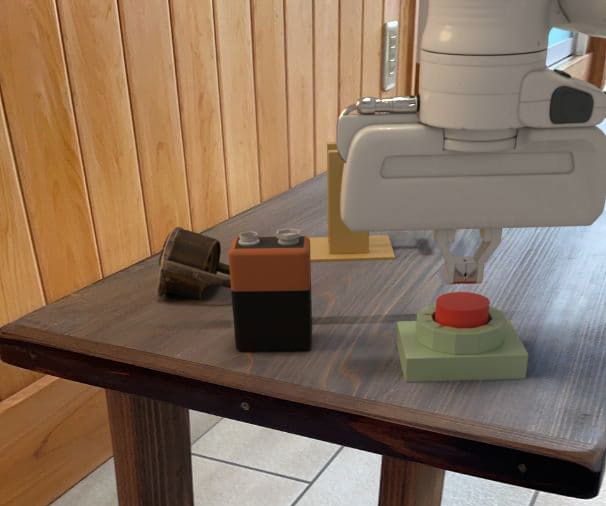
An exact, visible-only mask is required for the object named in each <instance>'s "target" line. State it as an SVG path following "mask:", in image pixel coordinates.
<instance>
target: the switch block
mask: <svg viewBox="0 0 606 506" xmlns="http://www.w3.org/2000/svg"><path fill="white" fill-rule="evenodd" d="M435 311H436V303H434V304H430V305H427V306H426V305H425V307H424V308H422V309H421V310H420V311H419V312H417V314H416V320H398V321H396V329H395V346H396V351H397V354H398V358H399V361H400V367H401V370H402V374H403V378H404V382H405V383H420V382H421V383H423V382H457V381H459V382H460V381H487V380H489V381H491V380H520V379H521V380H523V379H524V380H525V379H526V377H527V369H528V361H529V356H530V355H529V353H528V351H527V349H526V347H525V346H524V344H523V342H522V340H521V338H520V337H519V335H518V332H517V331H516V329H515V327H514V325H513V324H512V322H511V320H510V318H509V317H506V316H505V314H504V312H503V311H502V310H501V309H498V308H496V307H494V306H491V305H489V314H488V323H487V325H483V326H480V327H476V328H460V329H459V328H453V327H447V326H442V325H440V324H439V323H437V322H435Z"/></svg>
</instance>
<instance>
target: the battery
mask: <svg viewBox="0 0 606 506" xmlns="http://www.w3.org/2000/svg"><path fill="white" fill-rule="evenodd" d="M300 232H301V231H300V229H297V228H290V227H289V228H283V229H276V235H270V236H269V235H267V236H266V235H264V236H261V235H260V236H259V235H258V232H256V231H244V232H240V233H239V236H237V237H235V238H234V239H233V240H232V243H231V246H230V249H229V251H228V265H229V268H230V275H229V278H230V281H231V288H230V291H231V304H232V305H231V306H232V316H233V330H234V331H233V332H234V342H235V343H234V344H235V349H236V350H237V351H239V352H245V353H246V352H307V351H309V350H310V349H311V347H312V337H313V314H312V312H313V309H312V267H311V266H312V264H311V263H312V262H311V258H310V239H309V238H310V237H309V236H307V235H301V233H300Z"/></svg>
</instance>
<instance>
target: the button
mask: <svg viewBox="0 0 606 506" xmlns="http://www.w3.org/2000/svg"><path fill="white" fill-rule="evenodd" d="M435 304H436V311H435V322H437V323H439V324H440V325H442V326H447V327H453V328H459V329H460V328H476V327H480V326H483V325H487V323H488V314H489V306H491V305H490V304H491V301H490V299H489V298H488V297H487V296H485V295H483V294H479V293H475V292H469V291H454V292H453V291H452V292H447V293H443V294H441V295H439V296H438V297H437V298H436V300H435Z"/></svg>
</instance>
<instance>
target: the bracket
mask: <svg viewBox="0 0 606 506" xmlns="http://www.w3.org/2000/svg"><path fill="white" fill-rule="evenodd" d="M343 168H344V161H343V160H342V159H341V158H340V156H339V154H338V151H337V147H336V141H327V142H326V185H327V186H326V188H327V189H326V190H327V191H326V197H327V236H321V237H317V236H316V237H308V238H309V239H310V258H311V263H328V262H329V263H331V262H332V263H333V262H362V261H363V262H364V261H366V262H367V261H392V260H393V261H395V260H396V255H395V251H394V248H393V245H392V241H391V239H390V236H389V234H387V235H386V234H385V235H384V234H382V235H370V232H352V231H350V230H349V229H348V227H347V226H346V225H345V224H344V223H343V221H342V219H341V215H340V198H341V184H342V175H343Z"/></svg>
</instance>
